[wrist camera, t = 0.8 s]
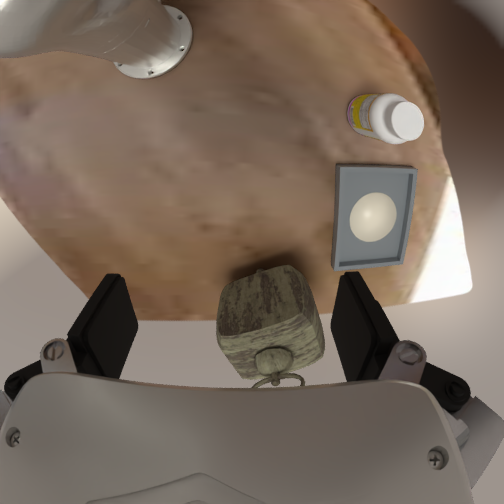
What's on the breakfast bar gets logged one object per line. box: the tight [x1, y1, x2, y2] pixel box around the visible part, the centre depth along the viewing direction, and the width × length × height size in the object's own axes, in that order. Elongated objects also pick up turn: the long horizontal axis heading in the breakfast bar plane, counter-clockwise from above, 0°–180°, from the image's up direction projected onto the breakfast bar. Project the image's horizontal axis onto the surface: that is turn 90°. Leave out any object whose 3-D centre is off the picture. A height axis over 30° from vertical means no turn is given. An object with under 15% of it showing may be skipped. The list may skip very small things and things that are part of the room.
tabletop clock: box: [216, 265, 325, 388], centre depth 39 cm, size 14×9×25 cm, turn 111°
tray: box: [331, 164, 418, 271], centre depth 43 cm, size 18×14×2 cm
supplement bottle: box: [347, 93, 424, 144], centre depth 31 cm, size 7×7×13 cm
